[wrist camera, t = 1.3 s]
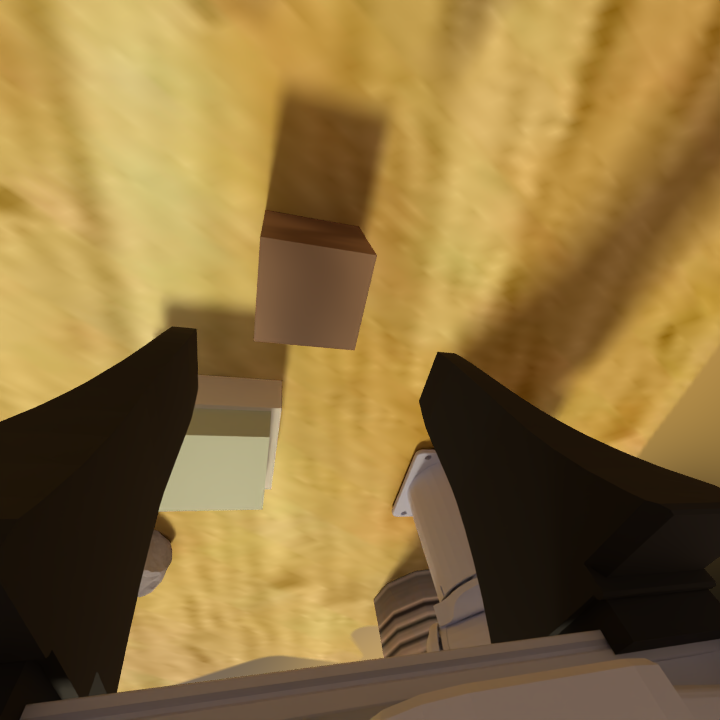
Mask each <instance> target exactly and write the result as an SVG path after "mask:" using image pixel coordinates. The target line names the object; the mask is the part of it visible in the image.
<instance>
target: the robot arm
mask: <svg viewBox="0 0 720 720" xmlns="http://www.w3.org/2000/svg"><path fill="white" fill-rule="evenodd" d="M197 392H198V361H197V329H192V328H181V327H171V328H169V329H168V330H166V331H165V332H163V333H162V334H161V335H159V336H158V337H156V338H155V339H154V340H152V341H151V342H149V343H148V344H146V345H145V346H144V347H142V348H141V349H139V350H138V351H136V352H135V353H133V354H132V355H130V356H129V357H127V358H126V359H124V360H123V361H121V362H119V363H118V364H116V365H114V366H113V367H111V368H109V369H108V370H106V371H104V372H103V373H101V374H99V375H98V376H96V377H94V378H93V379H91V380H89V381H88V382H86V383H84V384H82V385H80V386H78V387H76V388H75V389H73V390H71V391H69V392H67V393H65V394H63V395H61V396H58V397H56V398H54V399H52V400H50V401H48V402H46V403H44V404H42V405H39V406H37V407H35V408H33V409H30V410H28V411H25V412H23V413H20V414H18V415H16V416H13V417H11V418H8V419H6V420H3V421H1V422H0V720H720V602H719V601H718V600H717V599H716V598H715V596H714V595H713V594H712V593H711V592H710V591H709V589H711V588H713V587H715V586H716V583H715V580H714V579H713V578H712V577H711V576H710V575H709V574H708V573H707V571H706V570H705V569H704V568H705V567H706V566H708V565H709V564H710V563H712V562H713V561H714V560H715V559H717V558H718V557H720V488H719V487H717V486H715V485H712V484H709V483H706V482H703V481H700V480H697V479H694V478H691V477H688V476H685V475H683V474H680V473H677V472H674V471H670V470H668V469H665V468H662V467H659V466H657V465H654V464H651V463H649V462H647V461H644V460H641V459H639V458H637V457H634V456H631V455H629V454H627V453H624V452H622V451H620V450H617V449H615V448H613V447H611V446H608V445H606V444H604V443H602V442H600V441H598V440H596V439H593V438H591V437H589V436H587V435H585V434H583V433H581V432H579V431H577V430H575V429H573V428H571V427H570V426H568V425H566V424H564V423H562V422H560V421H559V420H557V419H555V418H553V417H551V416H550V415H548V414H546V413H545V412H543V411H541V410H540V409H538V408H536V407H535V406H533V405H532V404H530V403H529V402H527V401H525V400H524V399H522V398H521V397H519V396H518V395H516V394H515V393H513V392H512V391H510V390H509V389H507V388H506V387H505V386H503V385H502V384H500V383H499V382H497V381H496V380H494V379H493V378H492V377H490V376H489V375H487V374H486V373H485V372H483V371H482V370H480V369H479V368H477V367H476V366H474V365H473V364H471V363H470V362H469V361H467V360H465V359H464V358H462V357H460V356H459V355H457V354H455V353H444V352H437V355H436V358H435V360H434V363H433V365H432V368H431V371H430V373H429V376H428V379H427V381H426V384H425V387H424V389H423V392H422V394H421V397H420V400H419V403H420V407H421V412H422V416H423V419H424V423H425V427H426V429H427V432H428V434H429V437H430V439H431V442H432V444H433V446H434V449H435V450H424V449H422V450H418V451H417V452H416V453H415V455H414V457H413V460H412V462H411V465H410V467H409V470H408V472H407V475H406V477H405V479H404V482H403V484H402V487H401V489H400V492H399V494H398V497H397V499H396V501H395V504H394V506H393V509H392V514H393V516H396V517H400V516H413V519H414V522H415V525H416V528H417V531H418V535H419V538H420V541H421V544H422V547H423V551H424V554H425V557H426V560H427V563H428V567H429V570H430V573H431V576H432V579H433V583H434V586H435V589H436V592H437V595H438V599H439V602H440V603H438V604H435V605H434V606H433V607H434V610H435V614H436V617H437V620H438V622H437V623H434V624H432V625H431V627H430V630H429V636H428V639H427V647H426V648H427V652H425V653H418V654H410V655H402V656H395V657H387V658H379V659H372V660H364V661H356V662H349V663H341V664H333V665H327V666H319V667H310V668H303V669H295V670H287V671H281V672H272V673H265V674H257V675H249V676H241V677H234V678H226V679H219V680H211V681H203V682H195V683H188V684H180V685H172V686H165V687H157V688H149V689H142V690H134V691H126V692H119V693H117V689H118V684H119V680H120V675H121V670H122V665H123V661H124V656H125V651H126V646H127V642H128V637H129V632H130V628H131V623H132V619H133V615H134V610H135V606H136V601H137V597H138V592H139V588H140V584H141V579H142V575H143V571H144V567H145V563H146V559H147V555H148V551H149V547H150V542H151V539H152V535H153V531H154V527H155V523H156V519H157V515H158V511H159V507H160V504H161V501H162V498H163V495H164V492H165V489H166V486H167V483H168V481H169V478H170V475H171V473H172V470H173V467H174V465H175V462H176V459H177V457H178V454H179V451H180V449H181V446H182V443H183V441H184V438H185V435H186V433H187V430H188V427H189V425H190V422H191V419H192V415H193V411H194V406H195V402H196V397H197Z"/></svg>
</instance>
